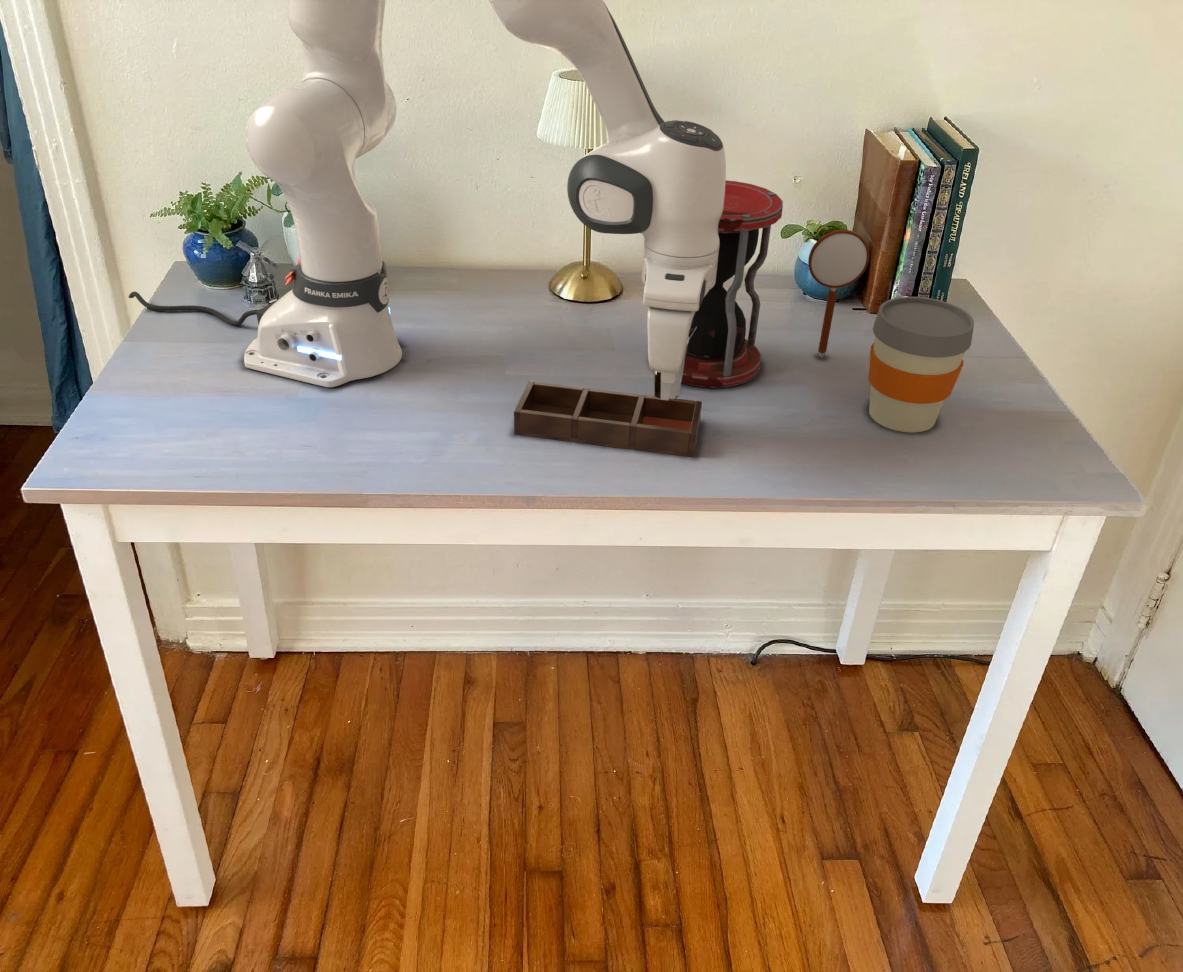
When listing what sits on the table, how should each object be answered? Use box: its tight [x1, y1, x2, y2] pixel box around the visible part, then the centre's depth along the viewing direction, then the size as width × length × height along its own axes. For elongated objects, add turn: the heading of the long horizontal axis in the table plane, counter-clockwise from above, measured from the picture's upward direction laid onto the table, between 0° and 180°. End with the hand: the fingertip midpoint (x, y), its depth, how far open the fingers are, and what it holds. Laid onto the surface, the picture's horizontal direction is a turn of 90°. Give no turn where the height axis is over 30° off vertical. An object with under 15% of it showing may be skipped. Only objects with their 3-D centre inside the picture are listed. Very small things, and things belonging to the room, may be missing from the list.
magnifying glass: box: [807, 229, 870, 358], centre depth 146 cm, size 9×2×20 cm, turn 91°
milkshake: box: [652, 326, 697, 401], centre depth 125 cm, size 4×5×10 cm
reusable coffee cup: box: [867, 296, 975, 433], centre depth 134 cm, size 13×13×15 cm
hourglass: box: [681, 179, 784, 389], centre depth 142 cm, size 16×16×25 cm
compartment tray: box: [513, 380, 703, 458], centre depth 132 cm, size 24×8×4 cm, turn 80°
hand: (670, 370), depth 126 cm, fingers closed on milkshake, 4 cm apart
